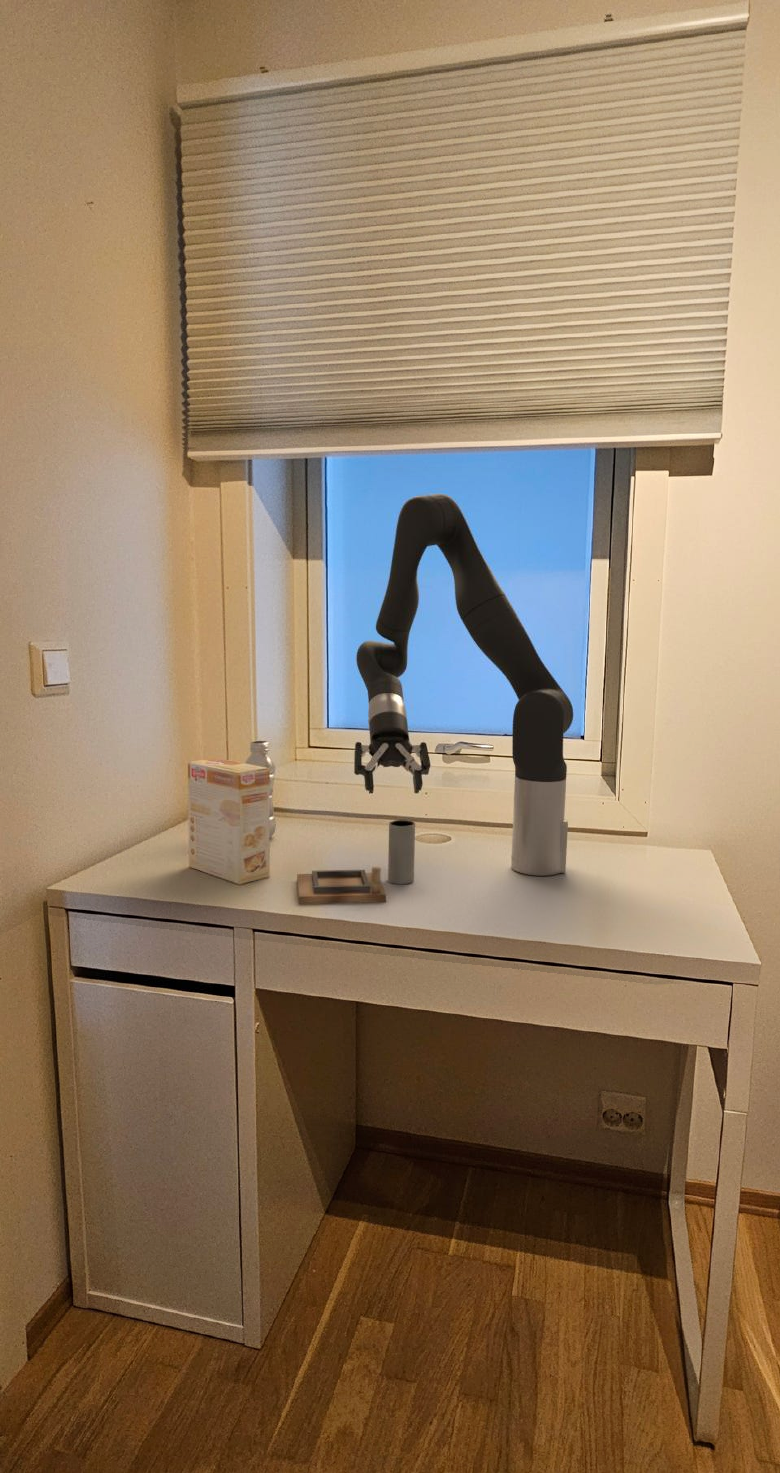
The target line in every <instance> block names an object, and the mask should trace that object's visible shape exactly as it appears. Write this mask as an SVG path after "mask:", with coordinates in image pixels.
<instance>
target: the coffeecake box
mask: <svg viewBox="0 0 780 1473" xmlns="http://www.w3.org/2000/svg"><path fill="white" fill-rule="evenodd" d="M187 787H188V789H187V792H188V793H187V794H188V797H187V798H188V799H187V800H188V801H187V804H188V867H189V868H192V869H194V870H197V871H201V872H203V873H206V874H209V875H211V876H215V877H217V878H220V879H222V880H226V881H227V882H231V883H235V884H237V885H243V884H247V883H250V882H254V881H258V880H263V879H267V878H270V877H271V875H270V874H271V872H270V871H271V870H270V868H271V867H270V866H271V865H270V861H271V860H270V858H271V857H270V852H271V851H270V850H271V849H270V848H271V847H270V846H271V844H270V838H271V837H270V768H266V767H261V766H255V765H250V764H245V762H241V761H240V762H238V761H235V760H234V761H233V760H228V759H223V758H218V757H216V758H214V757H213V758H207V759H200V760H192V761H188V762H187Z"/></svg>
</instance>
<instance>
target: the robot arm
mask: <svg viewBox="0 0 780 1473" xmlns="http://www.w3.org/2000/svg"><path fill="white" fill-rule="evenodd" d="M432 546H437V547H438V549H439V550H440V552H442V554H443V556H444V557H445V559H446V562H447V563H448V565H449V566H450V569H451V571H452V576H453V581H454V582H453V583H454V595H455V596H454V597H455V606H456V610H457V613H458V615H459V617H460V619H461V621H462V624H463V626H464V627H465V629H466V630H467V632H468V634H469V635H470V637H471V639H472V640H473V642H474V644H476V646H477V647H478V648H479V650H480V651H481V652H482V653H483V654H484V655H485V656H486V658H488V660H490V661H491V663H492V664H493V665H494V666H495V667H496V668H497V669H498V670H499V671H500V672H501V673H502V674H503V675H504V677H505V678H506V679H507V681H508V682H509V684H510V686H511V688H512V689H513V692H514V693H515V695H516V697H517V699H518V701H517V703H516V705H515V707H514V710H513V716H512V717H513V718H512V736H511V737H512V740H511V741H512V747H511V748H512V750H511V751H512V762H513V764H514V765H513V766H514V792H513V813H512V814H513V817H512V836H511V837H512V841H511V866H510V867H511V869H512V870H513V871H515V872H516V873H517V872H518V873H520V874H525V875H528V876H529V875H530V876H541V877H543V876H553V875H554V876H555V875H558V874H560V873H563V874H565V873H566V871H567V870H566V869H567V852H568V851H567V848H568V831H569V830H568V829H569V822H568V821H567V819H565V812H566V811H565V810H566V791H567V790H566V788H567V776H568V775H567V772H568V770H567V769H568V767H567V762H566V761H565V758H564V734H565V733H566V732H567V731H568V730H569V729H570V727H571V725H572V723H573V719H574V708H573V705H572V702H571V700H570V698H569V697H568V696H567V693H566V692H565V691H564V690H563V689H562V688H561V686H560V685H559V684H558V682H557V681H556V679H555V678H554V676H553V675H552V674H551V672H550V671H549V670H548V668H547V667H546V666H545V663H543V661H542V659H541V657H540V656H539V654H538V653H537V650H536V648H535V646H534V644H533V642H532V640H531V638H530V636H529V634H528V633H527V631H526V629H525V627H524V624H522V621H521V620H520V618H519V616H518V614H517V612H516V610H515V609H514V607H513V606H512V604H511V602H510V600H509V598H508V597H507V595H506V593H505V592H504V590H503V589H502V587H501V586H500V584H499V583H498V581H497V579H496V577H495V575H494V574H493V572H492V570H491V568H490V566H489V564H488V562H487V561H486V560H485V557H484V556H483V554H482V552H481V550H480V548H479V546H478V544H477V542H476V540H475V538H474V535H473V533H472V531H471V529H470V526H469V524H468V522H467V520H466V518H465V515H464V513H463V511H462V509H461V508H460V506H459V505H458V503H457V502H456V501H455V499H453V498H452V497H451V496H449V495H447V494H444V493H434V494H426V495H425V494H424V495H417V496H413V497H410V498H408V499H407V500H406V501H405V502H404V503H403V505H402V507H401V508H400V511H399V513H398V518H397V523H396V529H395V536H394V542H393V550H392V557H391V563H390V564H391V565H390V570H389V576H388V577H389V579H388V583H387V586H386V587H387V588H386V590H385V595H384V597H383V601H382V603H381V607H380V609H379V613H378V616H377V620H376V622H375V631H376V632H377V634H378V635H379V636H381V637H382V638H384V639H385V640H387V641H390V642H391V643H389V642H383V641H382V642H381V641H377V640H366V641H364V642H363V643H361V644H360V645H359V647H358V648H357V652H356V666H357V668H358V669H357V670H358V671H359V674H360V677H361V679H362V681H363V682H364V686H365V687H366V691H367V699H368V712H367V713H368V714H367V715H368V720H367V724H368V728H369V729H368V730H369V741H370V742H369V745H367V744H365V745H364V744H362V742H360V741H357V742H355V745H354V753H353V754H354V757H353V758H354V760H353V761H354V769H353V773H354V774H355V775H356V776H358V775H360V776H363V777H364V788H365V790H366V791H367V792H368V794H373V793H374V790H375V789H374V788H375V785H374V773H375V772H376V771H377V770H378V769H379V767H380V766H382V767H383V768H390V767H393V768H400V766H401V767H402V768H403V769H404V770H405V771H406V772H409V773H411V775H412V782H413V791H414V794H419V792H420V791H422V788H423V775H425V776H427V775H429V772H430V768H431V760H430V756H429V755H430V754H429V751H428V750H429V749H428V746H427V743H426V742H424V741H422V742H420V744H417V745H416V744H414V745H412V743H411V742H410V736H409V726H408V718H407V710H406V706H405V702H404V693H403V692H404V690H403V684H402V682H401V680H400V679H399V678H400V677H401V676H402V675H403V674H405V672H406V670H407V667H408V646H409V639H410V638H409V637H410V632H411V629H412V627H413V625H414V624H413V623H414V620H415V617H416V614H417V612H418V608H419V605H420V604H419V603H420V601H419V600H420V592H419V591H420V590H419V585H418V570H419V565H420V564H421V563H420V562H421V560H422V558H423V555H424V553H425V551H426V549H427V547H432ZM366 753H368V755H370V756H371V758H370V760H369V761H368V762H367V763H366V765H363V764H362V762H363V761H362V760H363V759H362V758H363V757H365V755H366ZM412 753H414V754H415V755H416V757H417V758H419V760H420V764H419V763H418V762H417V761H416V759H415V757H414V756H413V755H412Z"/></svg>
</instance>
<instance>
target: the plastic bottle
mask: <svg viewBox="0 0 780 1473" xmlns="http://www.w3.org/2000/svg"><path fill="white" fill-rule="evenodd" d="M269 744H270V742H269V741H267V740H254V741H253V740H252V741H250V748H249V752H251V753H250V755H249V756H248V757H247V759H245V762H244V763H245V764H250V765H255V766H261V767H266V768H270V838H271V837H273V836H274V834H275V832H276V829H277V828H276V827H277V824H276V816H275V812H274V802H273V798H274V797H273V793H274V782H275V776H276V765H275V763H274V761H273V758H272V757H271V756H270V755H269V752H270V748H269Z"/></svg>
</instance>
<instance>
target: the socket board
mask: <svg viewBox="0 0 780 1473" xmlns="http://www.w3.org/2000/svg"><path fill="white" fill-rule="evenodd" d="M381 870H382V868H381V867H380V866H372V868H371V872H366V870H365V869H335V870H334V869H333V870H332V869H331V870H328V869H327V870H325V869H324V870H323V869H322V870H311V873H297V875H296V876H297V878H296V883H297V895H298V896H297V897H298V905H306V904H307V905H308V904H309V903H311V904H312V903H315V904H348V903H349V904H350V903H351V904H352V903H355V902H357V903H383V902H384V903H386V902H387V893H386V891H385V888H384V885H383V882H382V881H381V880H382V879H381V876H382V875H381V874H382V873H381V872H382V871H381ZM311 904H310V905H311Z"/></svg>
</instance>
